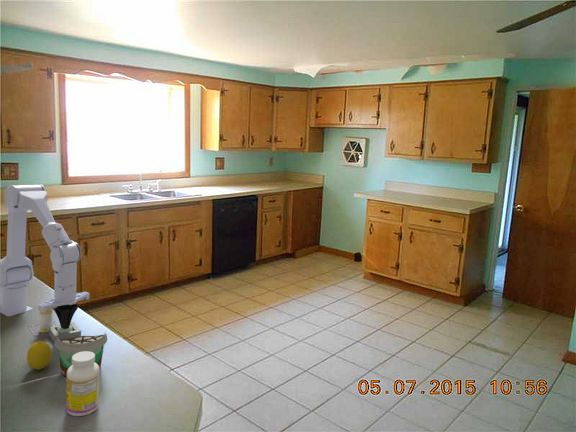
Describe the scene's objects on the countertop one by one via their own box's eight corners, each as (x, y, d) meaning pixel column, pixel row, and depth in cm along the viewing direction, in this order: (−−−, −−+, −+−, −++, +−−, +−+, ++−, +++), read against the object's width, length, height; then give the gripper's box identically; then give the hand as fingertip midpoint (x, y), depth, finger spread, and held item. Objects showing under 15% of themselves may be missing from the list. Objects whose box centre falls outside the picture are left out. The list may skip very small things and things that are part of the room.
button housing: (48, 334, 129) (48, 326, 129) (73, 329, 134) (73, 322, 133) (55, 343, 124) (55, 336, 123) (80, 338, 129) (81, 330, 128)
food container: (54, 386, 105) (54, 347, 103) (54, 373, 110) (54, 336, 108) (108, 377, 111) (109, 341, 109) (106, 365, 116) (107, 331, 114)
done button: (55, 334, 129) (55, 326, 128) (70, 331, 132) (70, 323, 131) (59, 340, 126) (59, 331, 126) (74, 336, 129) (74, 328, 128)
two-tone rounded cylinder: (36, 330, 130) (37, 308, 129) (48, 326, 133) (48, 305, 132) (43, 334, 129) (43, 312, 128) (55, 330, 132) (55, 308, 131)
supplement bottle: (73, 399, 101) (74, 347, 98) (102, 400, 101) (104, 349, 99) (60, 417, 94) (61, 362, 92) (92, 418, 95) (93, 364, 93)
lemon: (56, 366, 113) (56, 337, 112) (42, 377, 108) (42, 347, 107) (36, 363, 114) (36, 334, 112) (21, 374, 108) (21, 344, 107)
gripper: (49, 293, 118) (49, 340, 120) (96, 281, 130) (95, 324, 133) (34, 287, 121) (34, 332, 124) (81, 276, 134) (80, 317, 136)
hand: (64, 327), depth 128 cm, fingers closed, pressing on done button
